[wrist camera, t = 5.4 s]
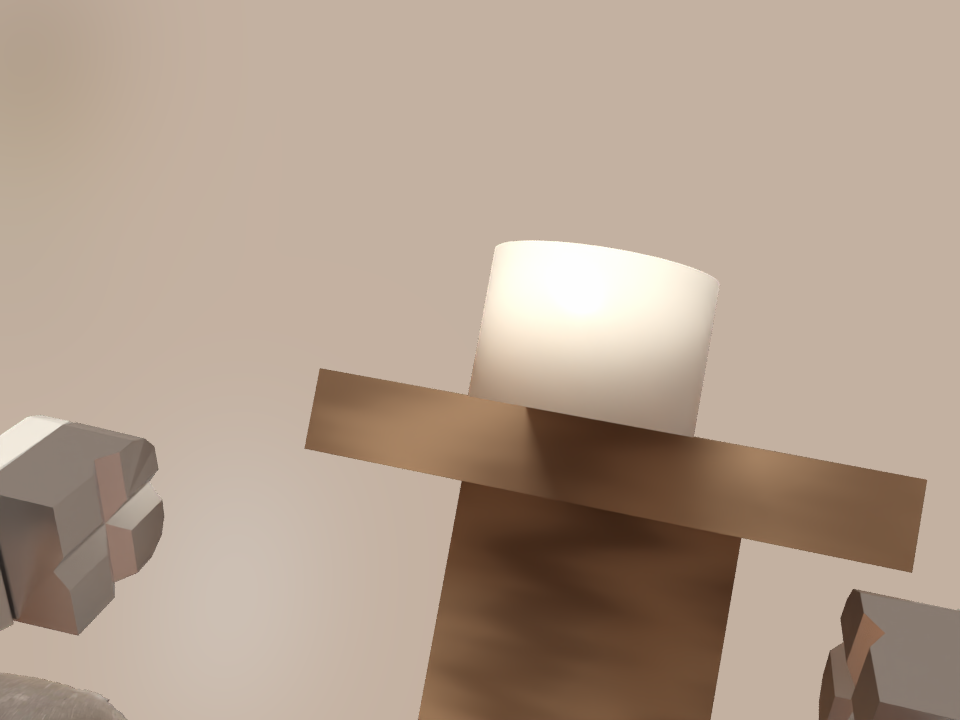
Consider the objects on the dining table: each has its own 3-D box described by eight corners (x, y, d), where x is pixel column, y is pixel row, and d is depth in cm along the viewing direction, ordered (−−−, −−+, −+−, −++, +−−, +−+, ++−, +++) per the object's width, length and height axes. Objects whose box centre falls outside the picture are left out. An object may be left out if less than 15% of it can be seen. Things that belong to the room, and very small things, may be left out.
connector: (668, 431, 37) (678, 376, 38) (699, 438, 12) (729, 264, 12) (584, 416, 38) (594, 362, 38) (444, 392, 13) (474, 228, 13)
